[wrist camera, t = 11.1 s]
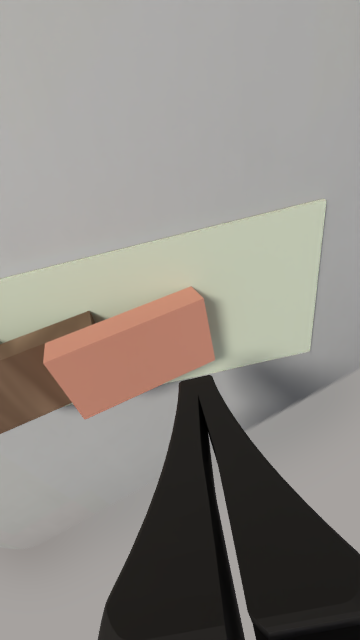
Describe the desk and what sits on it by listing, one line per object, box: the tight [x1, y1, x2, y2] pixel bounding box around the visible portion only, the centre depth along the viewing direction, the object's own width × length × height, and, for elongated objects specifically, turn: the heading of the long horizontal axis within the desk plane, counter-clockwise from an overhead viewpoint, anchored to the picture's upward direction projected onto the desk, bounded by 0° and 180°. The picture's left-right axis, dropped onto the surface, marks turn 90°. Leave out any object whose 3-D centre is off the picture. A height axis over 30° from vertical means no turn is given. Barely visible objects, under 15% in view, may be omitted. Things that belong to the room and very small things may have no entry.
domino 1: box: [0, 311, 95, 434], centre depth 14 cm, size 2×4×8 cm
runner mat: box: [0, 199, 326, 407], centre depth 16 cm, size 36×10×1 cm, turn 102°
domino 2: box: [43, 286, 215, 419], centre depth 14 cm, size 2×4×8 cm
